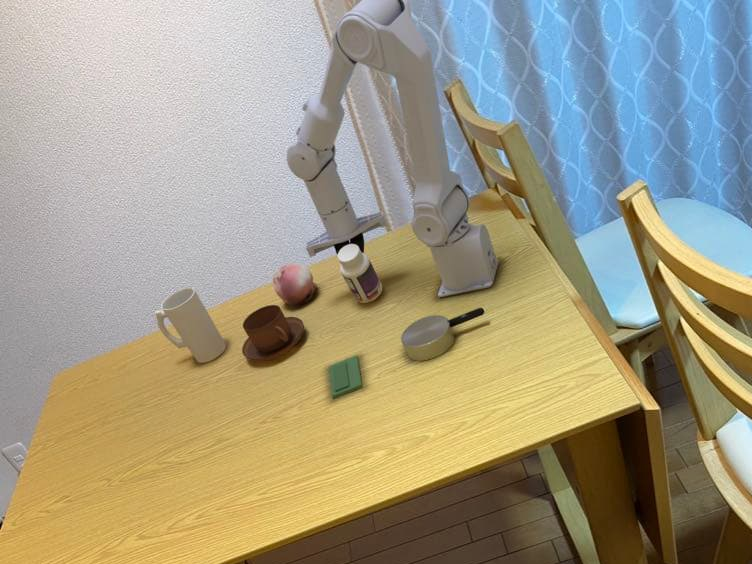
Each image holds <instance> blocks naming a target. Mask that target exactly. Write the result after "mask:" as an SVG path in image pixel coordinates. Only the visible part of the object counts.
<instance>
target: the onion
mask: <svg viewBox="0 0 752 564" xmlns="http://www.w3.org/2000/svg"><path fill="white" fill-rule="evenodd" d="M272 276H273V277H272V283H273V289H274V291H275V293H276V295H277V296H278V297H279V298H280V300H281V301H283V302H284V303H285V304H287V305H290V306H291V305H292V306H301V305H304V303H306V302H309V301H310V300H311V299H312V298H313V295H314V293H315V290H316V288H317V287H318V283H315V282H314V277H313V273H312V271H311V270H310V269H309V268H308V267H307V266H306V265H303V264H299V263H290V264H285V265H282V266H280V267H279V268H278V269H277V270H276V271H275V273H274V274H273V275H272Z"/></svg>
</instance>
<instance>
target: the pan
mask: <svg viewBox="0 0 752 564" xmlns="http://www.w3.org/2000/svg"><path fill="white" fill-rule="evenodd" d="M484 314H485V309H484V308H483V307H478V308H475V309H473V310H470V311H468V312H466V313H462V314H460V315H458V316H455V317H453V318H450V319H449V318H447V317H446V316H444V315H439V314H435V315H434V314H433V315H427V316H424V317H422V318H419V319H418V320H415V321H413V322H412V323H411V324H409V325H408V326H407V327H406V328H405V329H404V331H403V332H402V334H401V337H400V341H401V343H402V346H403V348H404V351H405V354H406V355H407V357H408V358H409V359H410V360H413V361H419V362H421V361H429V360H431V359H434V358H437V357H439V356H441V355H442V354H445V352H447V351H448V350H449V349H450V348H451V347H452V345H453V344H454V342H455V338H456V336H455V333H454V330H453V327H456V326H458V325H462V324H464V323H466V322H469V321H471V320H474V319H476V318H479V317H482V316H483V315H484Z"/></svg>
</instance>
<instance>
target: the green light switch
mask: <svg viewBox="0 0 752 564" xmlns="http://www.w3.org/2000/svg"><path fill="white" fill-rule="evenodd" d="M359 361H360V360H359V356H358V355H357V354H356V355H354V356H353V355H352V356H350V357H348V358H346V359H344V360H340V361H338V362H335V363H332V364H331V365H328V371H329V380H330V391H331V397H332V399H333V400H334V399H337V398H339V397H342V396H343V395H346V394H349V393H352V392H355V391H357V390H360V389H362V388H363V381H362V374H361V367H360V362H359Z"/></svg>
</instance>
